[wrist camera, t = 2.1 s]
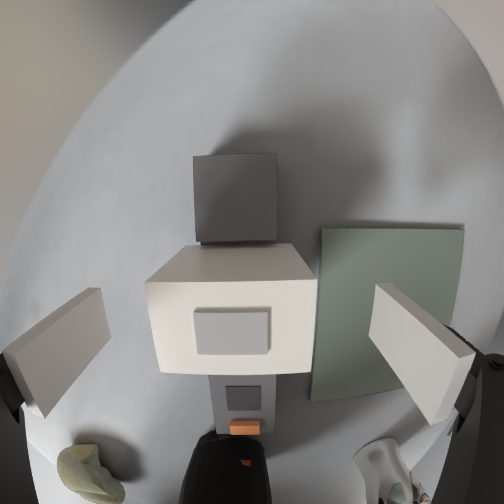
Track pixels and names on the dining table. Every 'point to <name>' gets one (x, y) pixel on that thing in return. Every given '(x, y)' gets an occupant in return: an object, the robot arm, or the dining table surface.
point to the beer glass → (388, 475)
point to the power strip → (228, 233)
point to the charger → (233, 310)
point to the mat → (362, 298)
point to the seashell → (88, 475)
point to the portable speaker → (226, 472)
